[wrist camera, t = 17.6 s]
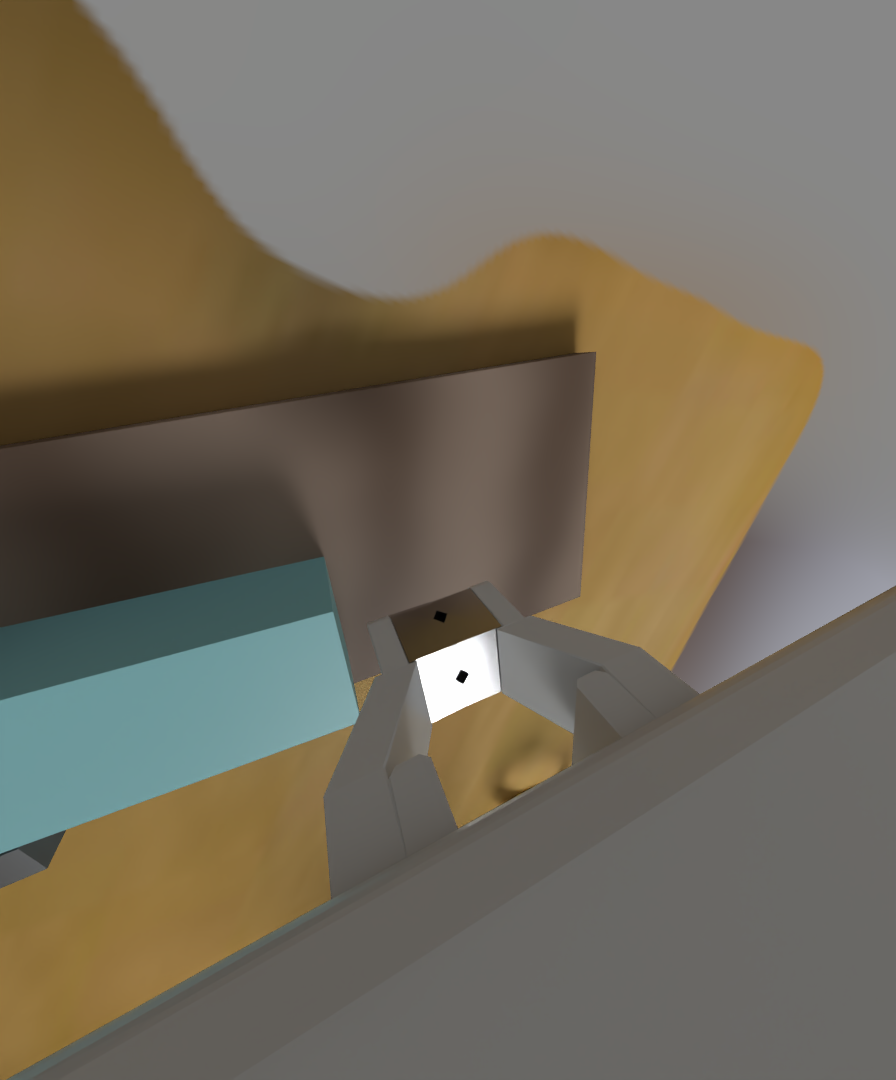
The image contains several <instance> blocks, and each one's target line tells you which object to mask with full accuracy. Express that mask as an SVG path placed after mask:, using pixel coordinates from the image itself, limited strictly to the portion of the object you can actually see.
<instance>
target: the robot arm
mask: <svg viewBox="0 0 896 1080" xmlns="http://www.w3.org/2000/svg"><path fill="white" fill-rule="evenodd" d="M367 628H368V631H369V634H370V637H371V641H372V644H373V647H374V651H375V654H376V657H377V660H378V664H379V667H380V670H381V673H382V675H380V676H377V677H375V679H374V681H373V683H372V686H371V688H370V690H369V693H368V695H367V697H366V700H365V702H364V704H363V707H362V709H361V711H360V713H359V716H358V718H357V720H356V723H355V725H354V727H353V730H352V732H351V734H350V737H349V739H348V741H347V744H346V746H345V748H344V751H343V753H342V755H341V758H340V760H339V762H338V764H337V767H336V769H335V771H334V774H333V776H332V778H331V781H330V783H329V785H328V788H327V790H326V792H325V795H324V809H325V822H326V836H327V849H328V863H329V876H330V890H331V900H329V901H327V902H325V903H323V904H322V905H320V906H318V907H316V908H314V909H313V910H311V911H309V912H307V913H305V914H304V915H302V916H300V917H298V918H296V919H295V920H293V921H291V922H289V923H287V924H286V925H284V926H282V927H280V928H278V929H277V930H275V931H273V932H271V933H269V934H268V935H266V936H264V937H262V938H260V939H259V940H257V941H255V942H253V943H251V944H250V945H248V946H246V947H244V948H242V949H241V950H239V951H237V952H235V953H233V954H232V955H230V956H228V957H226V958H224V959H223V960H221V961H219V962H217V963H215V964H214V965H212V966H210V967H208V968H206V969H205V970H203V971H201V972H199V973H197V974H196V975H194V976H192V977H190V978H188V979H187V980H185V981H183V982H181V983H179V984H178V985H176V986H174V987H172V988H170V989H169V990H167V991H165V992H163V993H161V994H160V995H158V996H156V997H154V998H152V999H151V1000H149V1001H147V1002H145V1003H143V1004H142V1005H140V1006H138V1007H136V1008H134V1009H133V1010H131V1011H129V1012H127V1013H125V1014H124V1015H122V1016H120V1017H118V1018H116V1019H115V1020H113V1021H111V1022H109V1023H107V1024H106V1025H104V1026H102V1027H100V1028H98V1029H97V1030H95V1031H93V1032H91V1033H89V1034H88V1035H86V1036H84V1037H82V1038H80V1039H79V1040H77V1041H75V1042H73V1043H71V1044H70V1045H68V1046H66V1047H64V1048H62V1049H61V1050H59V1051H57V1052H55V1053H53V1054H52V1055H50V1056H48V1057H46V1058H44V1059H43V1060H41V1061H39V1062H37V1063H35V1064H34V1065H32V1066H30V1067H28V1068H26V1069H25V1070H23V1071H21V1072H19V1073H17V1074H16V1075H14V1076H12V1077H10V1078H8V1079H7V1080H896V586H894V587H892V588H890V589H889V590H887V591H885V592H883V593H882V594H880V595H878V596H876V597H874V598H873V599H871V600H869V601H867V602H865V603H864V604H862V605H860V606H858V607H856V608H855V609H853V610H851V611H850V612H847V613H846V614H844V615H842V616H840V617H838V618H837V619H835V620H833V621H831V622H829V623H828V624H826V625H824V626H822V627H820V628H819V629H817V630H815V631H813V632H811V633H810V634H808V635H806V636H804V637H803V638H801V639H799V640H797V641H795V642H793V643H792V644H790V645H788V646H786V647H784V648H783V649H781V650H779V651H777V652H775V653H774V654H772V655H770V656H768V657H766V658H765V659H763V660H761V661H759V662H757V663H756V664H754V665H752V666H750V667H748V668H747V669H745V670H743V671H741V672H739V673H738V674H736V675H734V676H732V677H731V678H729V679H727V680H725V681H724V682H721V683H720V684H718V685H716V686H714V687H712V688H711V689H709V690H707V691H705V692H703V693H702V694H699V693H698V692H696V691H695V690H694V689H693V688H691V687H690V686H689V685H687V684H686V683H685V682H684V681H682V680H681V679H680V678H678V677H677V676H676V675H675V674H673V673H672V672H671V671H670V670H668V669H667V668H666V667H665V666H663V665H662V664H661V663H659V662H658V661H657V660H656V659H654V658H653V657H652V656H651V655H649V654H648V653H647V652H645V651H644V650H643V649H642V648H640V647H637V646H633V645H630V644H627V643H623V642H620V641H616V640H613V639H609V638H606V637H603V636H599V635H596V634H592V633H589V632H585V631H582V630H578V629H575V628H572V627H568V626H565V625H561V624H558V623H554V622H551V621H547V620H544V619H541V618H537V617H534V616H528V617H524V616H523V615H522V614H521V613H520V612H519V611H518V610H517V609H516V608H515V607H514V606H513V605H512V604H511V603H510V602H509V601H508V600H507V599H506V598H505V597H504V596H503V595H502V594H501V593H500V592H499V591H498V590H497V589H496V588H495V587H494V586H493V585H492V584H491V583H490V582H489V581H484V582H482V583H479V584H476V585H474V586H471V587H469V588H468V589H465V590H462V591H460V592H457V593H454V594H451V595H449V596H446V597H443V598H440V599H437V600H435V601H432V602H428V603H425V604H422V605H419V606H416V607H413V608H410V609H407V610H404V611H401V612H398V613H395V614H392V615H389V616H386V617H383V618H380V619H377V620H375V621H372V622H369V623H367ZM501 691H502V693H503V694H505V695H507V696H508V697H510V698H512V699H514V700H515V701H517V702H519V703H521V704H522V705H524V706H526V707H527V708H529V709H531V710H533V711H534V712H536V713H538V714H540V715H541V716H543V717H545V718H547V719H548V720H550V721H552V722H554V723H555V724H557V725H559V726H561V727H562V728H564V729H566V730H568V731H569V732H571V733H573V734H574V738H573V753H572V766H570V767H568V768H566V769H564V770H563V771H561V772H559V773H557V774H555V775H554V776H552V777H550V778H548V779H547V780H545V781H543V782H541V783H539V784H538V785H536V786H534V787H532V788H530V789H529V790H527V791H525V792H523V793H521V794H520V795H518V796H516V797H514V798H512V799H511V800H509V801H507V802H505V803H503V804H502V805H500V806H498V807H496V808H494V809H493V810H491V811H489V812H487V813H485V814H484V815H482V816H480V817H478V818H476V819H475V820H473V821H471V822H469V823H467V824H466V825H464V826H462V827H460V828H457V825H456V823H455V820H454V817H453V815H452V812H451V809H450V807H449V804H448V801H447V799H446V796H445V794H444V791H443V788H442V786H441V783H440V780H439V778H438V775H437V772H436V770H435V767H434V765H433V762H432V759H431V757H428V756H427V755H428V749H429V743H430V737H431V730H432V723H433V722H435V721H437V720H439V719H441V718H443V717H445V716H447V715H449V714H451V713H453V712H455V711H457V710H459V709H461V708H463V707H465V706H468V705H470V704H472V703H475V702H477V701H480V700H482V699H484V698H487V697H489V696H491V695H494V694H496V693H499V692H501Z"/></svg>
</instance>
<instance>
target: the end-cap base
mask: <svg viewBox="0 0 896 1080" xmlns="http://www.w3.org/2000/svg"><path fill="white" fill-rule="evenodd" d="M595 362H596V352H586V353H573V354H567V355H561V356H555V357H548V358H542V359H536V360H530V361H523V362H517V363H511V364H505V365H499V366H492V367H486V368H480V369H474V370H468V371H461V372H455V373H449V374H443V375H437V376H430V377H424V378H418V379H412V380H405V381H399V382H393V383H387V384H381V385H374V386H368V387H362V388H356V389H350V390H343V391H337V392H331V393H325V394H319V395H312V396H306V397H300V398H294V399H287V400H281V401H275V402H269V403H263V404H256V405H250V406H244V407H238V408H232V409H225V410H219V411H213V412H207V413H201V414H194V415H188V416H182V417H176V418H169V419H163V420H157V421H151V422H145V423H138V424H132V425H126V426H120V427H114V428H107V429H101V430H95V431H89V432H83V433H76V434H70V435H64V436H58V437H51V438H45V439H39V440H33V441H27V442H20V443H14V444H8V445H2V446H0V628H1V627H6V626H10V625H15V624H19V623H24V622H28V621H33V620H37V619H42V618H46V617H51V616H56V615H60V614H65V613H69V612H74V611H78V610H83V609H87V608H92V607H97V606H101V605H106V604H110V603H115V602H119V601H124V600H128V599H133V598H137V597H142V596H147V595H151V594H156V593H160V592H165V591H169V590H174V589H178V588H183V587H188V586H192V585H197V584H201V583H206V582H210V581H215V580H219V579H224V578H228V577H233V576H238V575H242V574H247V573H251V572H256V571H260V570H265V569H269V568H274V567H279V566H283V565H288V564H292V563H297V562H301V561H306V560H310V559H315V558H319V557H324V558H325V562H326V566H327V570H328V574H329V578H330V583H331V587H332V591H333V595H334V599H335V603H336V607H337V611H338V615H339V619H340V623H341V627H342V631H343V635H344V639H345V643H346V647H347V651H348V656H349V661H350V666H351V672H352V677H353V682H354V683H356V682H359V681H362V680H364V679H367V678H369V677H372V676H375V675H377V674H380V673H381V670H380V667H379V664H378V660H377V657H376V654H375V651H374V647H373V644H372V641H371V637H370V634H369V631H368V628H367V623H369V622H372V621H375V620H377V619H380V618H383V617H386V616H389V615H392V614H395V613H398V612H401V611H404V610H407V609H410V608H413V607H416V606H419V605H422V604H425V603H428V602H432V601H435V600H437V599H440V598H443V597H446V596H449V595H451V594H454V593H457V592H460V591H462V590H465V589H468V588H469V587H471V586H474V585H476V584H479V583H482V582H484V581H489V582H490V583H491V584H492V585H493V586H494V587H495V588H496V589H497V590H498V591H499V592H500V593H501V594H502V595H503V596H504V597H505V598H506V599H507V600H508V601H509V602H510V603H511V604H512V605H513V606H514V607H515V608H516V609H517V610H518V611H519V612H520V613H521V614H522V615H523V616H524V617H528V616H531V615H533V614H536V613H538V612H541V611H544V610H546V609H549V608H551V607H554V606H557V605H559V604H562V603H564V602H567V601H570V600H572V599H575V598H577V597H580V591H581V576H582V560H583V545H584V530H585V515H586V499H587V484H588V469H589V453H590V438H591V423H592V408H593V392H594V377H595ZM65 831H66V830H64V831H61V832H58V833H55V834H53V835H50V836H47V837H45V838H42V839H39V840H36V841H34V842H31V843H28V844H25V845H23V846H20V847H17V848H14V849H12V850H9V851H6V852H4V853H1V854H0V888H2V887H5V886H7V885H9V884H12V883H14V882H16V881H19V880H21V879H24V878H26V877H28V876H31V875H33V874H35V873H38V872H40V871H42V870H45V869H47V868H48V866H49V864H50V862H51V860H52V858H53V856H54V853H55V851H56V849H57V847H58V845H59V843H60V841H61V839H62V837H63V835H64V833H65Z"/></svg>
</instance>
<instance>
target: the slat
mask: <svg viewBox="0 0 896 1080" xmlns="http://www.w3.org/2000/svg"><path fill="white" fill-rule="evenodd" d="M358 716H359V708H358V703H357V698H356V692H355V687H354V682H353V677H352V672H351V666H350V661H349V656H348V651H347V647H346V643H345V639H344V635H343V631H342V627H341V623H340V619H339V615H338V611H337V607H336V603H335V599H334V595H333V591H332V587H331V583H330V578H329V574H328V570H327V566H326V562H325V558H324V557H319V558H315V559H310V560H306V561H301V562H297V563H292V564H288V565H283V566H279V567H274V568H269V569H265V570H260V571H256V572H251V573H247V574H242V575H238V576H233V577H228V578H224V579H219V580H215V581H210V582H206V583H201V584H197V585H192V586H188V587H183V588H178V589H174V590H169V591H165V592H160V593H156V594H151V595H147V596H142V597H137V598H133V599H128V600H124V601H119V602H115V603H110V604H106V605H101V606H97V607H92V608H87V609H83V610H78V611H74V612H69V613H65V614H60V615H56V616H51V617H46V618H42V619H37V620H33V621H28V622H24V623H19V624H15V625H10V626H6V627H1V628H0V854H1V853H4V852H6V851H9V850H12V849H14V848H17V847H20V846H23V845H25V844H28V843H31V842H34V841H36V840H39V839H42V838H45V837H47V836H50V835H53V834H55V833H58V832H61V831H64V830H66V829H69V828H72V827H75V826H77V825H80V824H83V823H86V822H88V821H91V820H94V819H97V818H99V817H102V816H105V815H107V814H110V813H113V812H116V811H118V810H121V809H124V808H127V807H129V806H132V805H135V804H138V803H140V802H143V801H146V800H149V799H151V798H154V797H157V796H159V795H162V794H165V793H168V792H170V791H173V790H176V789H179V788H181V787H184V786H187V785H190V784H192V783H195V782H198V781H200V780H203V779H206V778H209V777H211V776H214V775H217V774H220V773H222V772H225V771H228V770H231V769H233V768H236V767H239V766H242V765H244V764H247V763H250V762H252V761H255V760H258V759H261V758H263V757H266V756H269V755H272V754H274V753H277V752H280V751H283V750H285V749H288V748H291V747H293V746H296V745H299V744H302V743H304V742H307V741H310V740H313V739H315V738H318V737H321V736H324V735H326V734H329V733H332V732H335V731H337V730H340V729H343V728H345V727H348V726H351V725H354V724H355V723H356V720H357V718H358Z"/></svg>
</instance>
